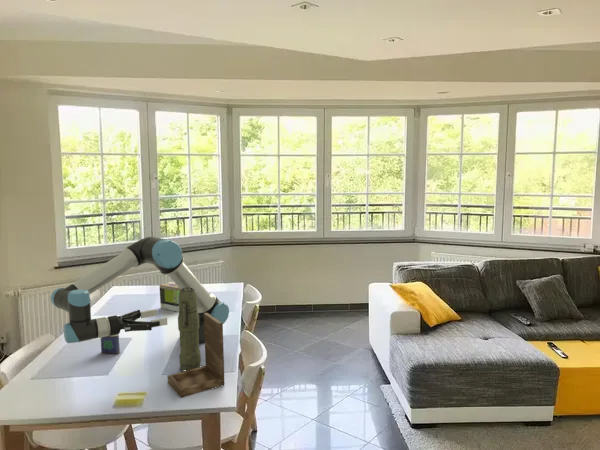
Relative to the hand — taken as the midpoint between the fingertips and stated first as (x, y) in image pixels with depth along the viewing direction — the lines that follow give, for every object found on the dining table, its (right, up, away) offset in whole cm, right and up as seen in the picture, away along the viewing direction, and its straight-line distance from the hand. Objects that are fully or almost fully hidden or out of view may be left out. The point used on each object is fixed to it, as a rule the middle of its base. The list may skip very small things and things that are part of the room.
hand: (161, 316), depth 201 cm
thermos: (+10, -24, +9) cm, 27 cm away
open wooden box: (+16, -26, -6) cm, 31 cm away
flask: (-31, -22, +25) cm, 45 cm away
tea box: (-18, -12, +90) cm, 92 cm away
